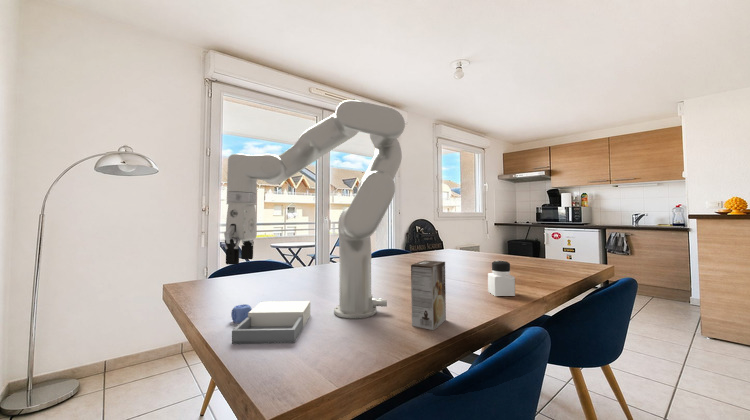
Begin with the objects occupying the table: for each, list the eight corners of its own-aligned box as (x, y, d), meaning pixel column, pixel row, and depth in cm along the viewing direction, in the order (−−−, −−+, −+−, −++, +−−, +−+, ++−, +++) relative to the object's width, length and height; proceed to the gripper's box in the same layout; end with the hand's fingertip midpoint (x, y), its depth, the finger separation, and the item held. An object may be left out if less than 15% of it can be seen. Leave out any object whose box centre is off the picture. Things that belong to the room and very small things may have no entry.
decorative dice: (252, 320, 84) (252, 305, 84) (238, 324, 81) (238, 309, 81) (244, 317, 87) (245, 303, 87) (231, 321, 83) (231, 306, 83)
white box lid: (310, 314, 88) (310, 301, 88) (303, 327, 78) (303, 311, 78) (261, 315, 88) (261, 301, 88) (248, 328, 78) (248, 312, 78)
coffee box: (424, 316, 87) (424, 259, 87) (446, 320, 83) (446, 261, 84) (410, 326, 79) (410, 264, 79) (434, 331, 76) (433, 266, 76)
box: (303, 327, 78) (303, 316, 78) (294, 343, 69) (294, 329, 69) (247, 328, 78) (247, 316, 78) (231, 344, 68) (231, 330, 68)
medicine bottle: (515, 297, 106) (515, 262, 107) (495, 297, 107) (494, 262, 107) (507, 292, 114) (506, 259, 114) (487, 292, 114) (487, 259, 114)
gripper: (242, 197, 76) (241, 266, 75) (265, 201, 93) (264, 257, 93) (212, 197, 76) (210, 266, 75) (240, 201, 93) (239, 257, 92)
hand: (240, 261), depth 84 cm, fingers open, 9 cm apart
